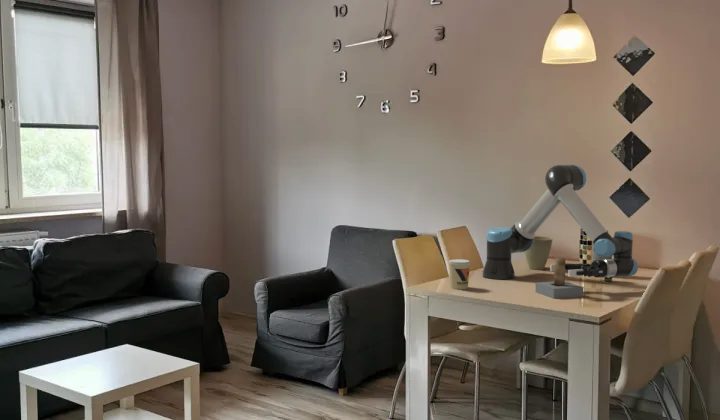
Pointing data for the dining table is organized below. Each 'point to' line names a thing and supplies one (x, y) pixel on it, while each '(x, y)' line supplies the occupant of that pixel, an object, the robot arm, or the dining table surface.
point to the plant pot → (539, 252)
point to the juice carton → (597, 257)
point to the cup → (608, 279)
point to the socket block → (559, 290)
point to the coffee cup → (459, 273)
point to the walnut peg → (559, 272)
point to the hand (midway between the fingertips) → (559, 270)
